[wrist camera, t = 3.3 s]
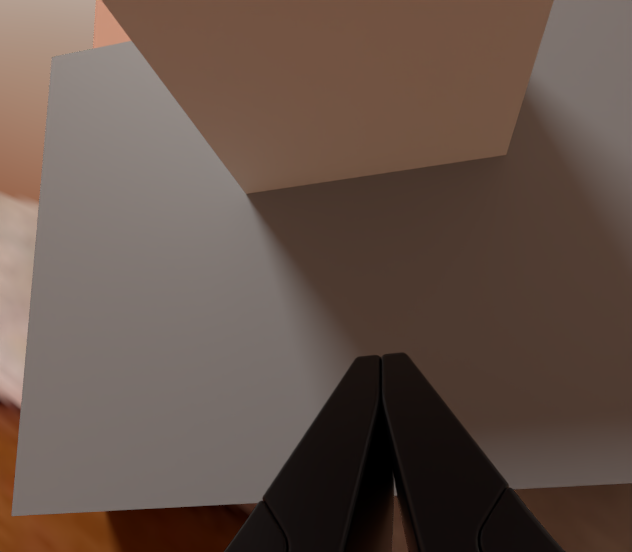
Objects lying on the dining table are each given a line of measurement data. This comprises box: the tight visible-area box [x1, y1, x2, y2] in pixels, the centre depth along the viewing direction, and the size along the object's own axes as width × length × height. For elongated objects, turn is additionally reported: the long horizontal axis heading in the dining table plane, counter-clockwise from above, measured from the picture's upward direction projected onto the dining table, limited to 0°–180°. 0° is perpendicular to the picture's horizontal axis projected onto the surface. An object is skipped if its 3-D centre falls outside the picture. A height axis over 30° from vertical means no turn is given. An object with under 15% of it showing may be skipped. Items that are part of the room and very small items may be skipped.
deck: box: [12, 0, 632, 516], centre depth 16 cm, size 14×20×4 cm
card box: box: [102, 0, 554, 194], centre depth 11 cm, size 4×7×8 cm, turn 94°
